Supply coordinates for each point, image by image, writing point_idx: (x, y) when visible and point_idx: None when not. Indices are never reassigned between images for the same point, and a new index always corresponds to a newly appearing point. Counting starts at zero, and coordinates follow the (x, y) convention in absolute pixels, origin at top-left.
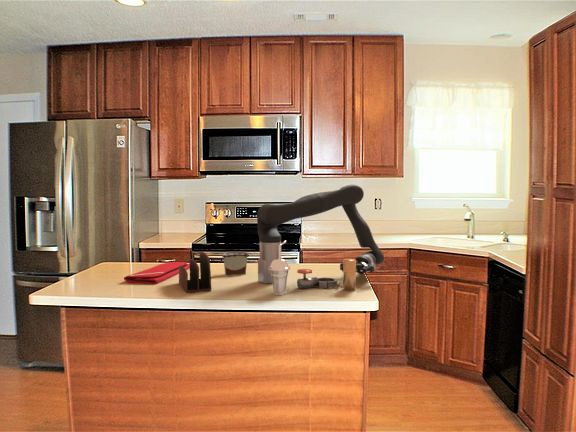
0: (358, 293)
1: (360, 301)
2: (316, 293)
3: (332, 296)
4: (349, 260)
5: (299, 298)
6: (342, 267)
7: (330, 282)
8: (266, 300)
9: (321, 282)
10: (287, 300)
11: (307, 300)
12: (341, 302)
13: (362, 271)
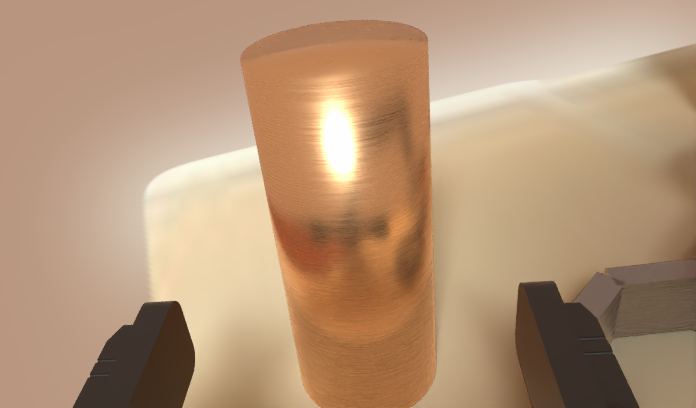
0: (255, 283)
1: (223, 167)
2: (554, 189)
3: None
4: (323, 30)
5: (561, 110)
6: (543, 285)
7: (584, 293)
8: (668, 61)
9: (668, 267)
10: (585, 83)
11: (499, 105)
12: None
13: (188, 335)
